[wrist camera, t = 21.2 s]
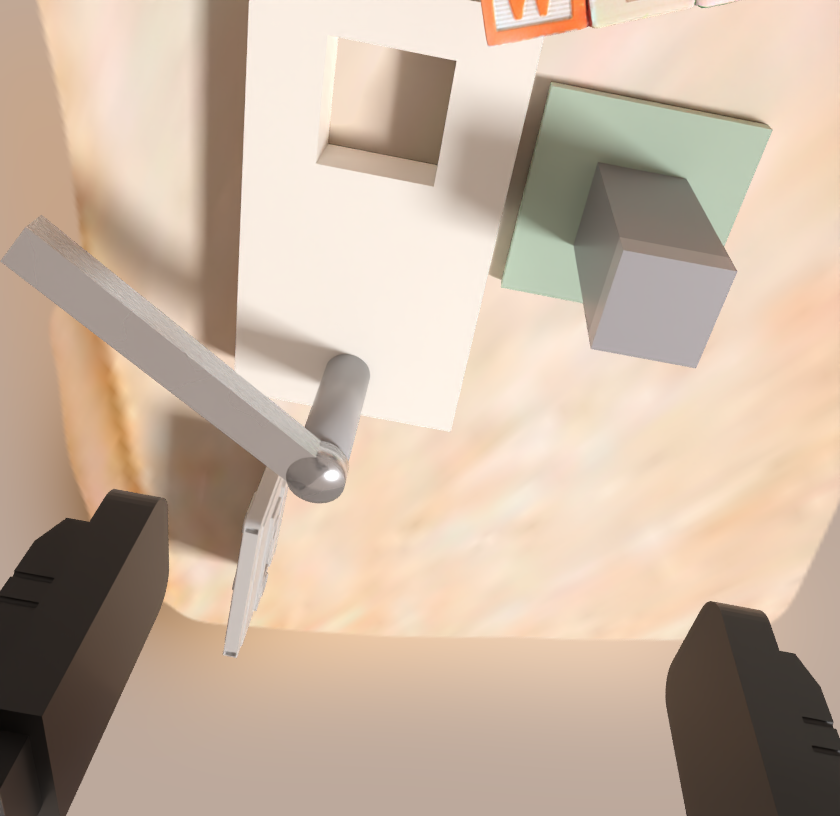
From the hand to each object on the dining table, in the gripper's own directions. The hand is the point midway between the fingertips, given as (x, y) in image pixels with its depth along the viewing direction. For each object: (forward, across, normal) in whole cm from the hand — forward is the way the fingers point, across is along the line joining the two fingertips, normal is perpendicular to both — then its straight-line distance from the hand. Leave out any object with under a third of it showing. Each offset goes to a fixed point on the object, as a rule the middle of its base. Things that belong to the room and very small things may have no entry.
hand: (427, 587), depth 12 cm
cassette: (+30, +8, +28) cm, 42 cm away
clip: (+19, +10, +11) cm, 24 cm away
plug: (+29, -8, +4) cm, 31 cm away
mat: (+30, -8, +4) cm, 31 cm away
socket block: (+30, +4, +6) cm, 31 cm away
